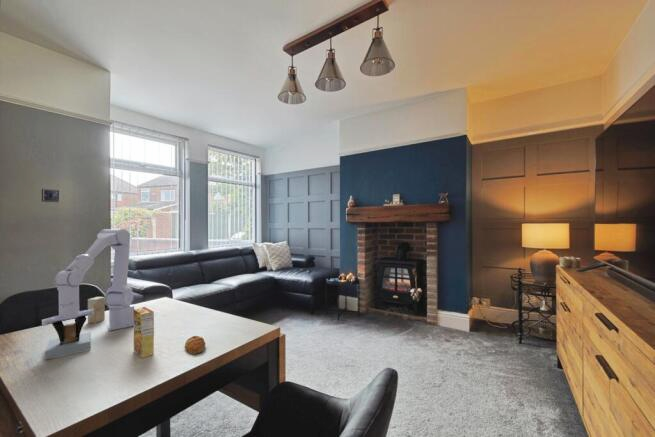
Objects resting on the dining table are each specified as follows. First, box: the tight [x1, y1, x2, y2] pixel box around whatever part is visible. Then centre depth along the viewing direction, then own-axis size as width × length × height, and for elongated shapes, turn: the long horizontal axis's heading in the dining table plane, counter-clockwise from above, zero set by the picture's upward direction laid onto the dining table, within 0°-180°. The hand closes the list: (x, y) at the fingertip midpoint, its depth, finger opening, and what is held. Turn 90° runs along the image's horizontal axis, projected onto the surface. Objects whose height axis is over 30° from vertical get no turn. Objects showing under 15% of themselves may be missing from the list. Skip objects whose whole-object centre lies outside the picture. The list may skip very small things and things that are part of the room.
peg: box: [62, 322, 77, 345], centre depth 109 cm, size 4×4×8 cm
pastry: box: [184, 335, 206, 355], centre depth 107 cm, size 9×7×4 cm
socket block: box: [44, 332, 92, 361], centre depth 109 cm, size 12×12×3 cm
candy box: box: [133, 306, 155, 359], centre depth 105 cm, size 9×4×15 cm, turn 50°
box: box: [87, 296, 106, 324], centre depth 139 cm, size 5×4×11 cm
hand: (69, 339), depth 109 cm, fingers closed on peg, 4 cm apart
